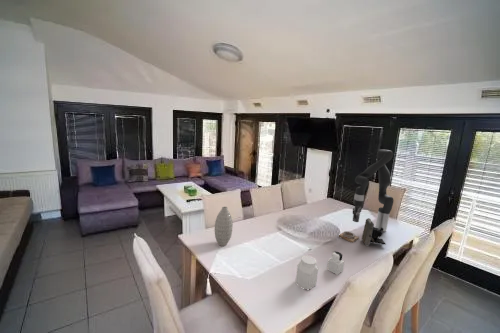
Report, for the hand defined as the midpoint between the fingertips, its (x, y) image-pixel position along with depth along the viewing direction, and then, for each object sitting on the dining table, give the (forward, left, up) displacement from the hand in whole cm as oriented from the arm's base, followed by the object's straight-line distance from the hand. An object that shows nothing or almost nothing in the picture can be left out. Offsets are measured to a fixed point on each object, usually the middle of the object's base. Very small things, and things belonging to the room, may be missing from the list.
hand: (356, 217), depth 202 cm
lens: (0, 0, -3) cm, 3 cm away
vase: (+106, -48, -14) cm, 117 cm away
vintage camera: (+6, +19, -14) cm, 24 cm away
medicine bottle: (+65, +18, -14) cm, 69 cm away
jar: (+91, +14, -14) cm, 93 cm away
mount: (+13, +2, -14) cm, 19 cm away
